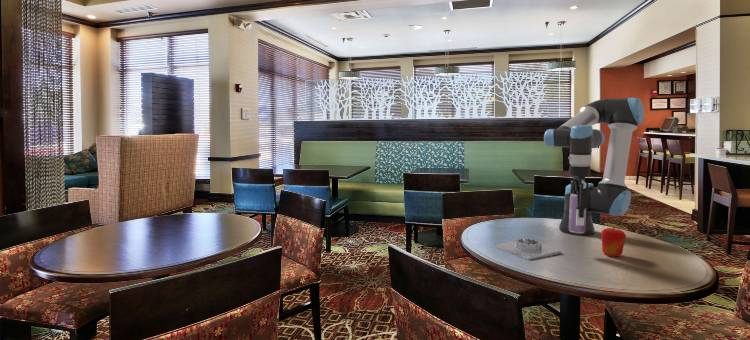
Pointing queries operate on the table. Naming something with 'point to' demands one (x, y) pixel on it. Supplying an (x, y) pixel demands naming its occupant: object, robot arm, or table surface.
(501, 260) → the table surface
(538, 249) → the duct flange
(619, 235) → the red bell pepper
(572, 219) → the beverage can
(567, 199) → the robot arm
